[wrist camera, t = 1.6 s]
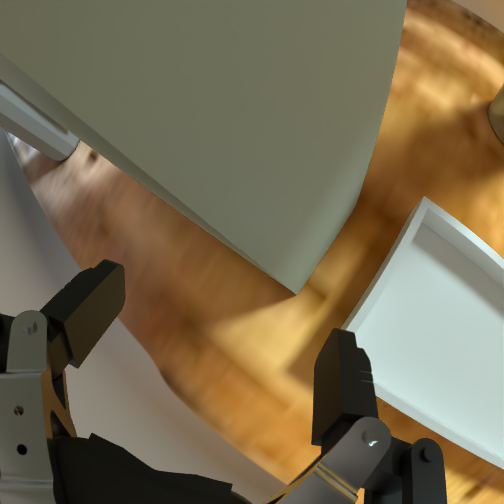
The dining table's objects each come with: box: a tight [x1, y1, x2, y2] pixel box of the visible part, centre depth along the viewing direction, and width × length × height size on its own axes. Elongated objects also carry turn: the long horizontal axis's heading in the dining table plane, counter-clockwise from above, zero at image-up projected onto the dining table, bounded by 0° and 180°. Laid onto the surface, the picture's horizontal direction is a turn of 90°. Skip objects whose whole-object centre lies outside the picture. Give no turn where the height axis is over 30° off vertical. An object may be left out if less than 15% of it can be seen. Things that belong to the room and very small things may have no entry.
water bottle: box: [0, 79, 80, 161], centre depth 26 cm, size 9×8×25 cm
